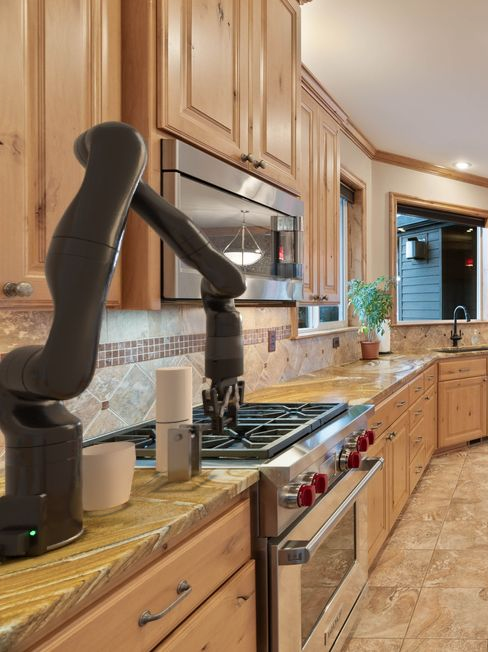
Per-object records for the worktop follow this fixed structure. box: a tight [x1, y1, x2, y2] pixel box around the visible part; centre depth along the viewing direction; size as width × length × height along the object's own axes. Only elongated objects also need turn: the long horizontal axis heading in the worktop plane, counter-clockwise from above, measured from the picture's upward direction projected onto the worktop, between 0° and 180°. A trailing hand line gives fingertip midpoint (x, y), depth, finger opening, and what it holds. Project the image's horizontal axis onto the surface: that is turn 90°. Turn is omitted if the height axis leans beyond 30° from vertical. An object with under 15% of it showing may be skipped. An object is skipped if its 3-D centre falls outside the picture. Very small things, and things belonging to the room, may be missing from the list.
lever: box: [189, 416, 234, 438], centre depth 105 cm, size 11×6×2 cm, turn 95°
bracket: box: [167, 423, 203, 483], centre depth 104 cm, size 8×9×13 cm
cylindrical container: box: [155, 365, 193, 473], centre depth 112 cm, size 7×7×25 cm
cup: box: [83, 441, 137, 512], centre depth 91 cm, size 9×9×12 cm
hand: (224, 429), depth 105 cm, fingers closed on lever, 5 cm apart
